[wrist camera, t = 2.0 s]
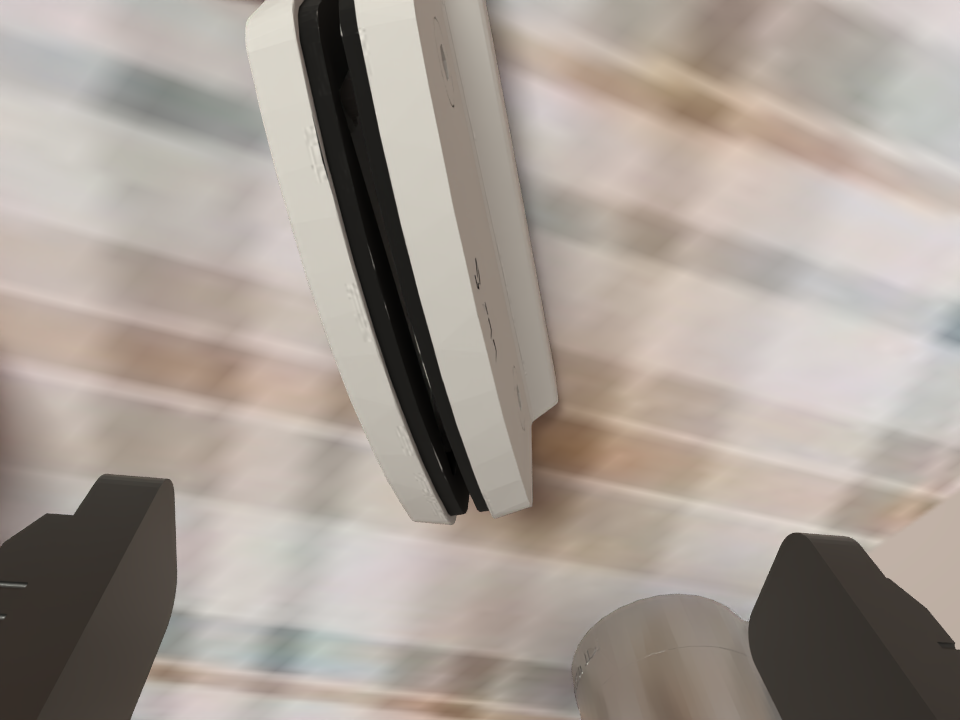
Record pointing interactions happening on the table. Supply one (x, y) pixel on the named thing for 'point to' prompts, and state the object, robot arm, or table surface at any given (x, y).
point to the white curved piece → (412, 237)
